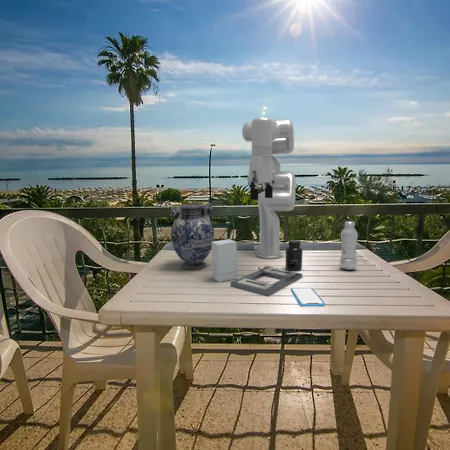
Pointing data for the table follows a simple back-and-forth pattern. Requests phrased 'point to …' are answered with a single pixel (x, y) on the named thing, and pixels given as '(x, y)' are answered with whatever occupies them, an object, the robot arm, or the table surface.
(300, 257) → the supplement bottle
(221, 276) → the skincare box
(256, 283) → the label panel
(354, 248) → the plastic bottle
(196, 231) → the decorative vase
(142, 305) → the table surface
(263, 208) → the robot arm
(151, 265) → the table surface
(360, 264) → the table surface
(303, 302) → the smartphone
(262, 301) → the table surface
